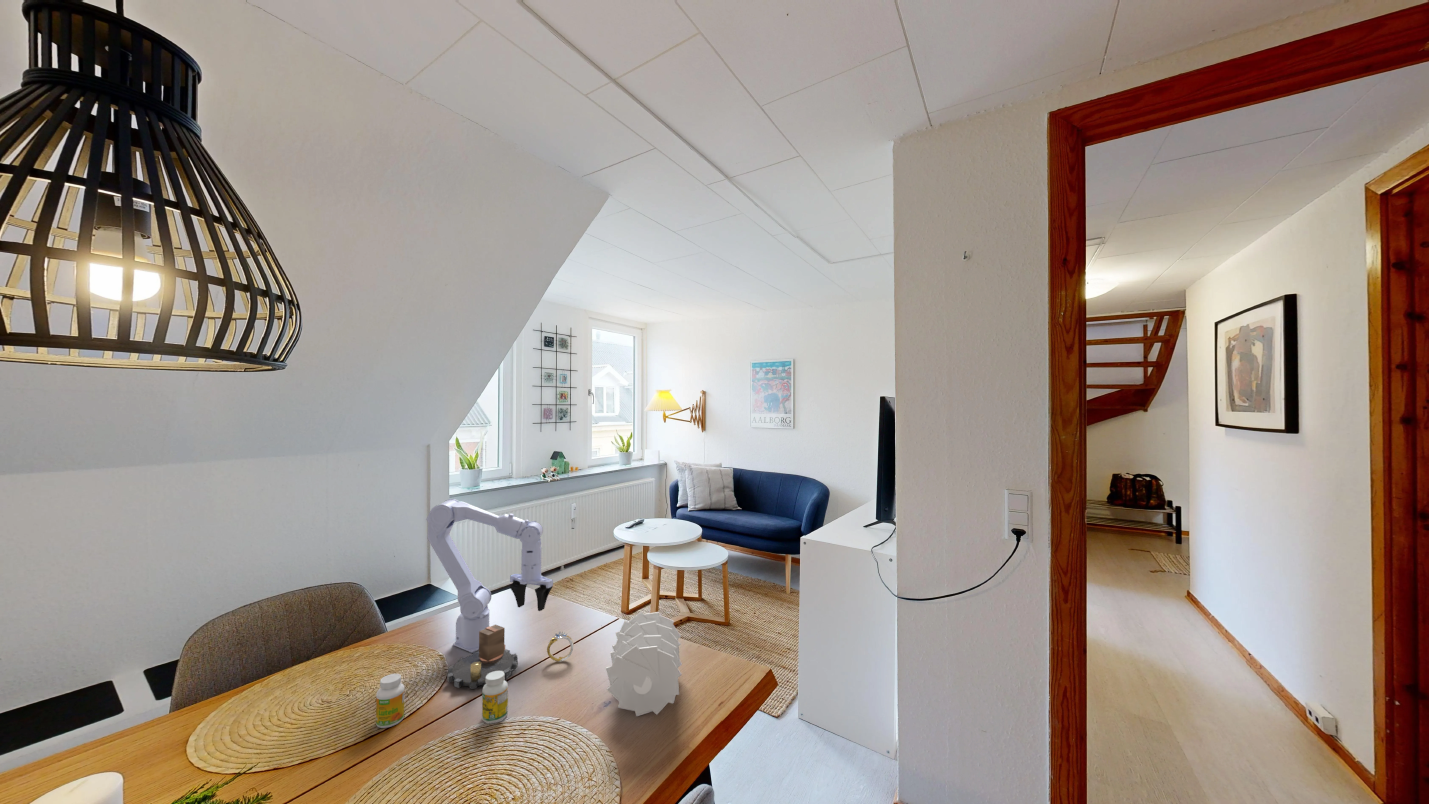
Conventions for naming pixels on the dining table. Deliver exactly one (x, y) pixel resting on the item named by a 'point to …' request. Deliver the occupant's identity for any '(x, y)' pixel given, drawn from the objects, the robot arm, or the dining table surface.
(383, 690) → the supplement bottle
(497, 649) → the wooden block
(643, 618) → the white spiral plate stack
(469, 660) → the sprocket
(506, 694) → the supplement bottle
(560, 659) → the ring
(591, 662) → the dining table surface
